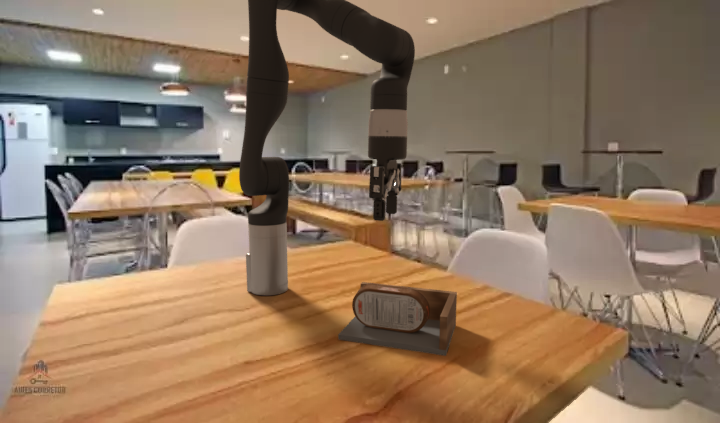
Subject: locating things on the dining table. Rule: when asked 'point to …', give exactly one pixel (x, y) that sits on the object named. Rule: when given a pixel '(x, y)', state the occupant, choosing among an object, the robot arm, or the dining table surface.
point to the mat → (397, 337)
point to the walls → (439, 310)
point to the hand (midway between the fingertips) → (385, 216)
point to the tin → (391, 308)
